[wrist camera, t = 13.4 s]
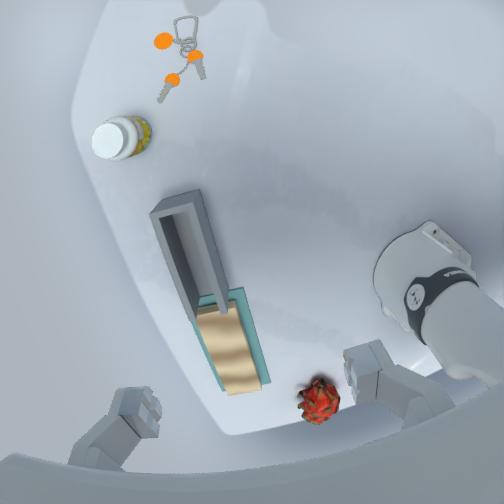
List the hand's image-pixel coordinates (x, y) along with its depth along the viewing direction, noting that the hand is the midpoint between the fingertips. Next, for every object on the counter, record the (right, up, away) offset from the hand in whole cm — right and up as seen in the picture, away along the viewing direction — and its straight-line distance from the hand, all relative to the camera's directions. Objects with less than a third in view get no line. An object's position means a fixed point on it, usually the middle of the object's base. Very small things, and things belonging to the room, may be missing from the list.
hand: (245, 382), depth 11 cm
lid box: (-8, +6, +33) cm, 35 cm away
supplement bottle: (-16, +21, +26) cm, 37 cm away
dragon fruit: (+14, -24, +48) cm, 55 cm away
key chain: (-9, +31, +22) cm, 40 cm away
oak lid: (-3, -12, +41) cm, 43 cm away
